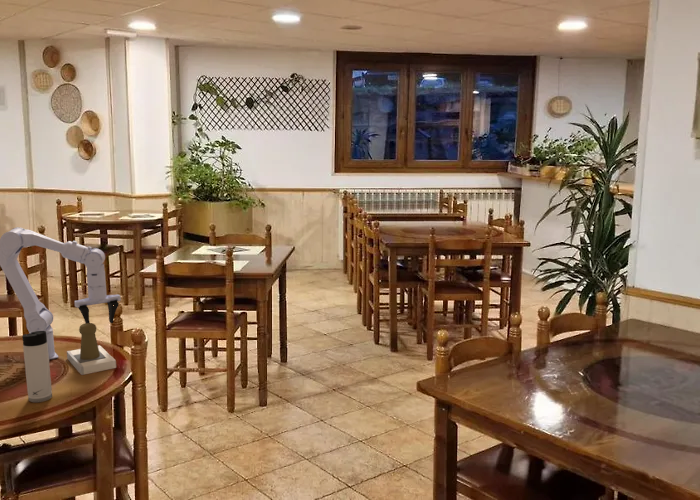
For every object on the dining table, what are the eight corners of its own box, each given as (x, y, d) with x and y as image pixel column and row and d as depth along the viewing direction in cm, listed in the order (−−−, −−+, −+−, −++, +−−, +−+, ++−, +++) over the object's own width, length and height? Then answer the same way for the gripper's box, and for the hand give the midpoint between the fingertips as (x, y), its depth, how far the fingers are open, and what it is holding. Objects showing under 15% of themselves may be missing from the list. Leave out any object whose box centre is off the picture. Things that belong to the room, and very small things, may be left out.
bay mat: (73, 356, 224) (73, 355, 224) (98, 351, 229) (98, 350, 229) (80, 363, 218) (79, 362, 218) (105, 358, 222) (105, 357, 222)
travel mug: (37, 404, 193) (31, 336, 189) (23, 399, 196) (17, 332, 192) (57, 397, 198) (51, 330, 194) (43, 392, 201) (37, 326, 197)
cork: (93, 360, 219) (90, 327, 217) (76, 359, 220) (73, 326, 218) (103, 353, 225) (101, 321, 223) (86, 352, 226) (84, 320, 224)
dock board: (67, 358, 229) (66, 351, 228) (100, 352, 235) (99, 344, 235) (81, 375, 215) (80, 367, 214) (116, 367, 221) (115, 360, 220)
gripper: (77, 291, 221) (80, 331, 224) (122, 284, 230) (125, 323, 232) (71, 286, 227) (75, 326, 230) (115, 280, 235) (118, 318, 238)
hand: (99, 324), depth 231 cm, fingers open, 7 cm apart
